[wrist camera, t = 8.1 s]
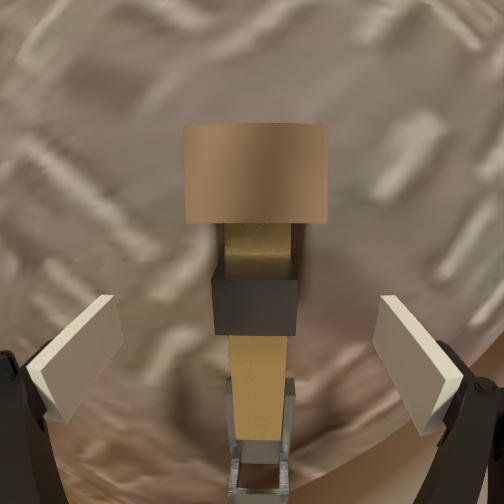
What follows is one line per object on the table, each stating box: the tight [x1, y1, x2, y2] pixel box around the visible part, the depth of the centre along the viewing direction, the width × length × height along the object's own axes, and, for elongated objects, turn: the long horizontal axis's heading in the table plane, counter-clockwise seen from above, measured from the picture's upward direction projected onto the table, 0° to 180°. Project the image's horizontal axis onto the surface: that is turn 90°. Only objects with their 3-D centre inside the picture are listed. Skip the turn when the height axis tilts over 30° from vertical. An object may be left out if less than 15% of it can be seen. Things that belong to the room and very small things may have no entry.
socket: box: [183, 123, 328, 224], centre depth 19 cm, size 7×5×8 cm
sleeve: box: [224, 377, 295, 504], centre depth 26 cm, size 6×14×7 cm, turn 1°
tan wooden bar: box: [211, 223, 298, 440], centre depth 20 cm, size 4×22×9 cm, turn 1°
